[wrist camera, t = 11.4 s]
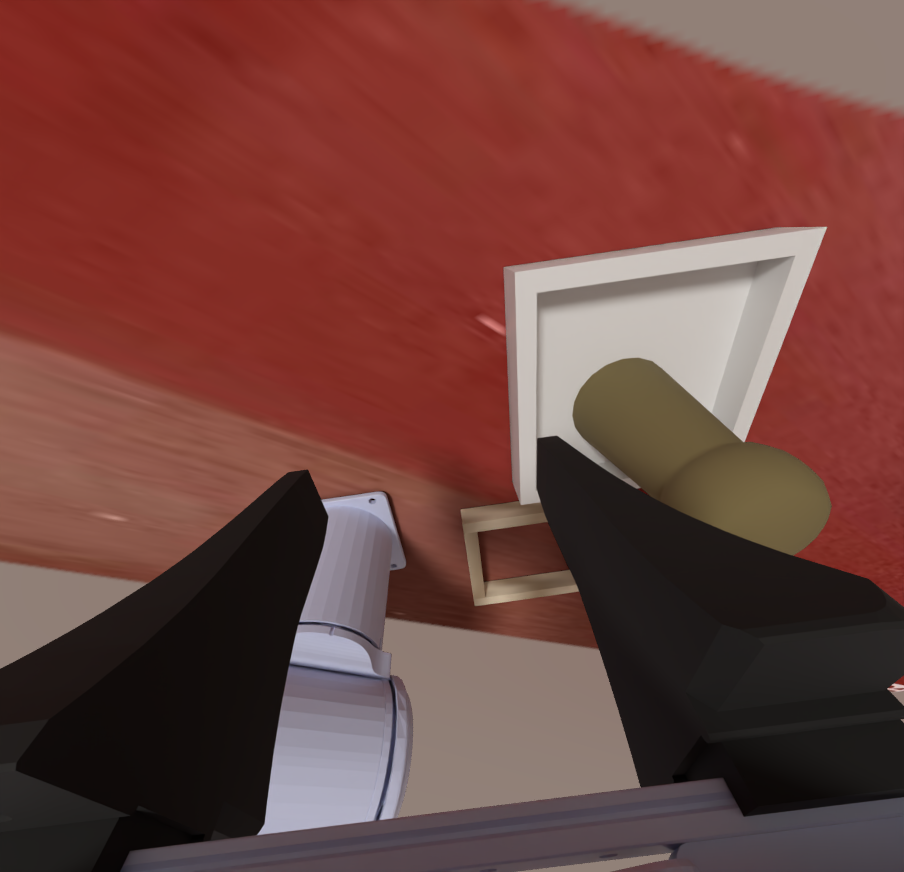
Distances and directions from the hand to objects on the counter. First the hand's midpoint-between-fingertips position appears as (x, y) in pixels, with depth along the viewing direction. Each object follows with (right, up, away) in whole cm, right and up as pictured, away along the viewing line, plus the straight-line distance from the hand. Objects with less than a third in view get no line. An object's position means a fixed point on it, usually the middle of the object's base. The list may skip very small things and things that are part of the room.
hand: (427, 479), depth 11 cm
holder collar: (+7, -8, +17) cm, 20 cm away
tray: (+11, +5, +10) cm, 16 cm away
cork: (+11, +3, +11) cm, 16 cm away
